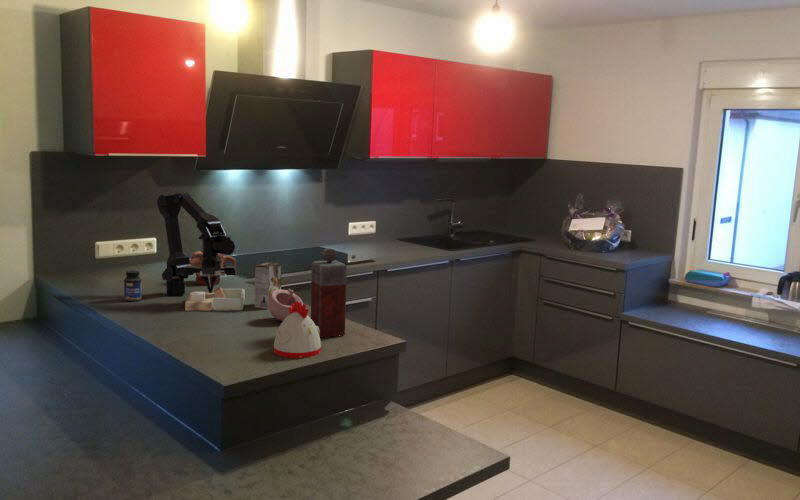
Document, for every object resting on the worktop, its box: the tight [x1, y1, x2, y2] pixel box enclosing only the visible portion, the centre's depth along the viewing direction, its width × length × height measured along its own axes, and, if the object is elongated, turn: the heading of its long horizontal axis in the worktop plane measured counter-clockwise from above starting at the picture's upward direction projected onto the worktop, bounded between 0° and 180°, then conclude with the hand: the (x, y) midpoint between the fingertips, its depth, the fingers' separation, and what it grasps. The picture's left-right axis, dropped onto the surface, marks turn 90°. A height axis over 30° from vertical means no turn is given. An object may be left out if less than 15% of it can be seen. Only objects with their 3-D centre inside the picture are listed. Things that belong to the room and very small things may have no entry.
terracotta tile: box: [213, 286, 226, 298], centre depth 258 cm, size 4×4×2 cm
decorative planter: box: [189, 250, 237, 286], centre depth 293 cm, size 20×12×14 cm, turn 105°
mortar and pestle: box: [267, 288, 304, 322], centre depth 235 cm, size 12×12×11 cm
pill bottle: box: [123, 270, 142, 302], centre depth 256 cm, size 6×6×11 cm
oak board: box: [184, 291, 216, 312], centre depth 253 cm, size 9×17×3 cm, turn 11°
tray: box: [212, 288, 246, 312], centre depth 255 cm, size 10×17×4 cm, turn 10°
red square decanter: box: [310, 247, 348, 338], centre depth 221 cm, size 9×11×28 cm
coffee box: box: [254, 261, 282, 310], centre depth 255 cm, size 9×6×16 cm
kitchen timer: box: [273, 301, 322, 359], centre depth 200 cm, size 14×14×15 cm
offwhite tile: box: [191, 291, 206, 301], centre depth 248 cm, size 4×4×2 cm
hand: (210, 292), depth 257 cm, fingers closed
